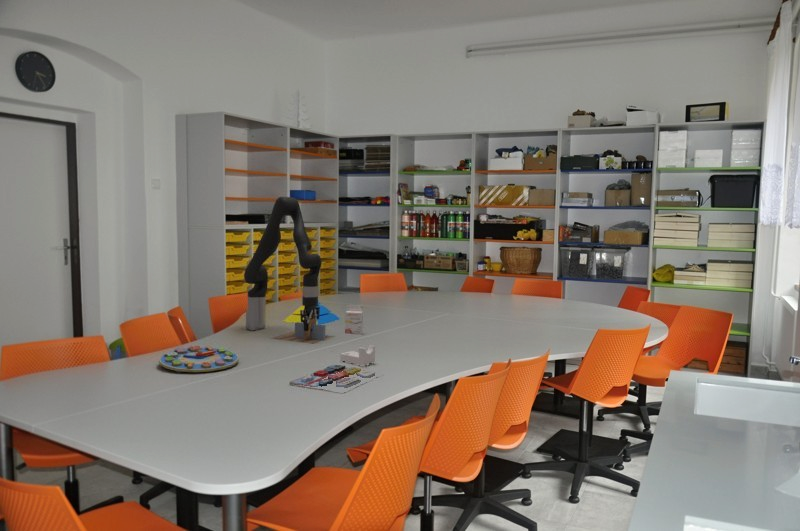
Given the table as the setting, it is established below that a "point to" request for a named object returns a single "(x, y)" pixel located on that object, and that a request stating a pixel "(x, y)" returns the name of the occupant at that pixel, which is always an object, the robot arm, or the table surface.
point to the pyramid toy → (324, 317)
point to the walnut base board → (298, 338)
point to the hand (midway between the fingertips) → (310, 329)
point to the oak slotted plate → (309, 327)
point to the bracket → (359, 356)
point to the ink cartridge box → (354, 320)
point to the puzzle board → (333, 377)
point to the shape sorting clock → (198, 359)
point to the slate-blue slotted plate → (316, 332)
